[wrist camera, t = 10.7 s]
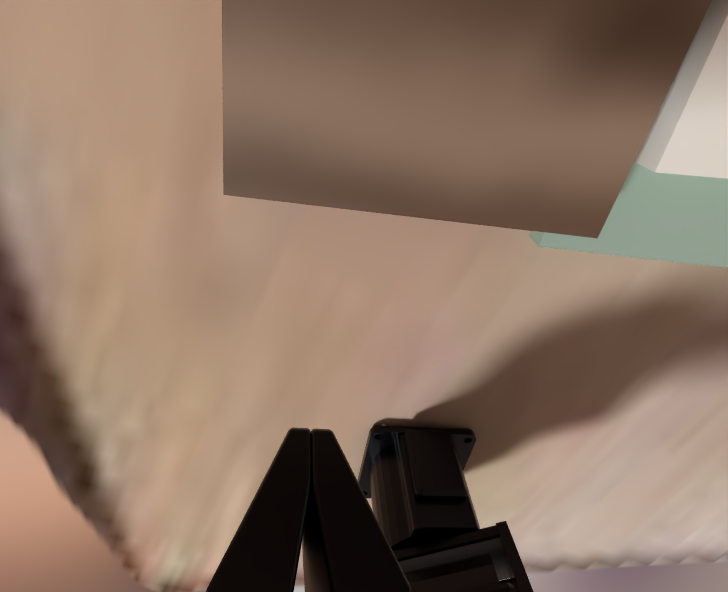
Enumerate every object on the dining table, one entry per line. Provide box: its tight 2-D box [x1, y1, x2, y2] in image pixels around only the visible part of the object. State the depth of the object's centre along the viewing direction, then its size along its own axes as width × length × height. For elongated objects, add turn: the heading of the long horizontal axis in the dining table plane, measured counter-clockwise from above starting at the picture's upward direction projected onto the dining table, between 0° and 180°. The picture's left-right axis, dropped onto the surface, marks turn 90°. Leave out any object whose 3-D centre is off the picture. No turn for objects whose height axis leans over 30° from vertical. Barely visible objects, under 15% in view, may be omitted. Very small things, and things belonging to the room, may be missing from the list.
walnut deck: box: [222, 0, 712, 238], centre depth 14 cm, size 13×14×3 cm
